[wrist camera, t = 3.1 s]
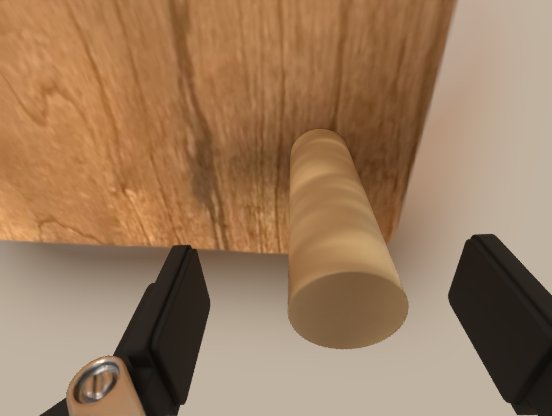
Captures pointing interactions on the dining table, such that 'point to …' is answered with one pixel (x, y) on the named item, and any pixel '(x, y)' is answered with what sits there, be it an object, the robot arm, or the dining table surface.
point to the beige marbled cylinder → (337, 251)
